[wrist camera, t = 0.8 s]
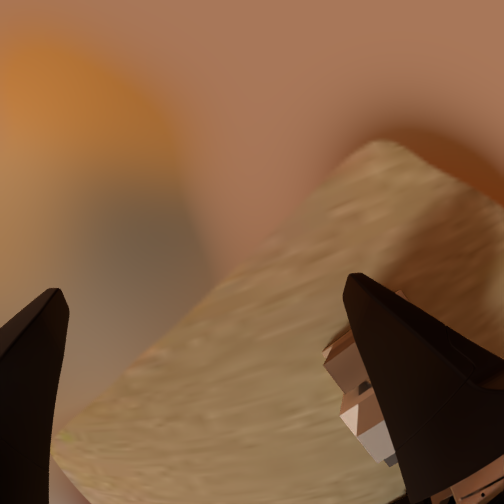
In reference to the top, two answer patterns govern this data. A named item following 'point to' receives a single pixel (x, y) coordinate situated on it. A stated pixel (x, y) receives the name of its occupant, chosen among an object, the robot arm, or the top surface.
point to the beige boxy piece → (367, 421)
